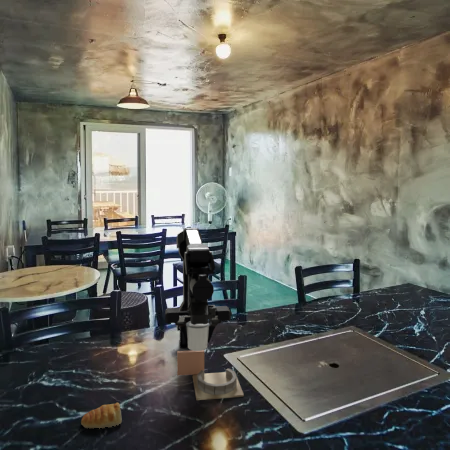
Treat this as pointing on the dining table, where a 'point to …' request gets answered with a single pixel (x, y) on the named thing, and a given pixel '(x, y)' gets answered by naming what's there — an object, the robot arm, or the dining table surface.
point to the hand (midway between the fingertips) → (197, 342)
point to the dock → (216, 385)
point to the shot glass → (197, 336)
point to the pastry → (103, 417)
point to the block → (190, 362)
